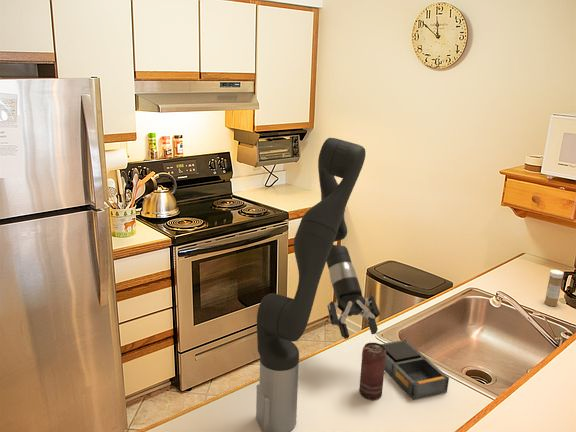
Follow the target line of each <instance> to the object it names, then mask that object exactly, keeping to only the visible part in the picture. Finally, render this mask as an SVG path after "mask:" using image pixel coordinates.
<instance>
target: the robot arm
mask: <svg viewBox="0 0 576 432" xmlns="http://www.w3.org/2000/svg"><path fill="white" fill-rule="evenodd" d="M365 159H366V148H365V147H364V146H362V145H360V144H357V143H354V142H351V141H346V140H343V139H341V138H340V139H339V138H336V137H328V138H326V139H325V140H324V142H323V143H322V146H321V148H320V151H319V154H318V161H317V168H318V169H317V170H318V180H319V187H320V188H319V189H320V198H321V200H320V201H319V202H317V203H316V204H314V205H313V206H312V207H311V208H309V209H308V210H307V211H306V212H305V213H304V214H303V216H302V217H301V219H300V223H299V225H298V228H297V229H296V230H297V231H296V233H295V236H294V239H293V250H294V257H295V262H296V264H297V265H296V266H297V271H298V283H297V288H296V292H295V295H294V297H293V298H291V297H289V296H286V295H282V294H280V293H279V294H278V293H275V292H273V293H268V294H266V295H265V296H264V297H263V298H262V299H261V301H260V303H259V305H258V309H257V313H256V341H257V343H256V344H257V352H258V354H259V382H258V383H259V384H257V385H256V402H255V403H256V405H255V406H256V408H255V410H256V412H255V413H256V414H255V418H256V421H257V422H258V425H259V427H260V429H261V431H262V432H291V431H293V430H294V429H295V427H296V424H297V415H298V388H299V368H300V367H299V366H300V364H299V363H300V350H299V348H298V347H297V345H296V344H295V343H294V342H297V341H298V340H299V339H301V337H303V335H304V333H305V330H306V328H307V326H308V324H309V320H310V317H311V313H312V310H313V305H314V302H315V298H316V295H317V291H318V287H319V283H320V280H321V278H322V275H323V272H324V269H325V267H326V265H327V268H328V273H329V279H330V284H331V286H332V288H333V293H334V296H335V299H336V302H335V301H333V300H332V301H330V302H329V303H328V304H327V309H328V310H327V311H328V316H329V320H330V324H331V325H332V326H334V325H336V326H338V328H339V333H340V336H341V337H342V338H343V339H344V340H347V339H349V338H350V334H349V330H348V326H347V323H346V320H347V317H352V316H359V315H360V316H361V317H363V318H364V319H365V320H367V323H368V327H369V331H370V333H371V335H375V334H377V333H378V325H377V322H376V319H377V318H378V317H379V316H380V315H381V313H380V310H379V308H378V305H377V302H376V300H375V297H374V296H373V295H370V296H369V297H364V296H363V294H362V288H361V285H360V283H359V279H358V275H357V272H356V270H355V267H354V266H353V265H354V264H353V261H352V260H351V256H350V252H349V250H348V248H347V247H346V246H345V245H341V244H338V245H337V244H334V243H335V242H340V241H342V240H344V239H346V237H347V235H348V227H347V224H346V221H345V212H346V208H347V207H346V206H347V205H348V202H349V199H350V197H351V194H352V192H353V190H354V188H355V185H356V183H357V181H358V178H359V176H360V173H361V171H362V169H363V166H364V164H365V163H364V162H365ZM335 177H336V178H341V181H340V182H339V183H338V181H337V179H336V178H335ZM365 304H366V305H367V306H368V307H367V306H366V305H365ZM337 309H339V310H340V311H341V312H340V315H339V318H338V313H337Z"/></svg>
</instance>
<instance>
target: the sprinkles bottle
mask: <svg viewBox="0 0 576 432" xmlns="http://www.w3.org/2000/svg"><path fill="white" fill-rule="evenodd" d="M563 278H564V272H563V271H562V270H559V269H550V271H549V277H548V283H547V284H548V285H547V288H546V292H545V299H544V304H545V305H547V306H549V307H557V306H558V302H559V298H560V297H559V296H560V292H561V287H562V283H563V282H562V280H563Z"/></svg>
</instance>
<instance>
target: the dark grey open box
mask: <svg viewBox="0 0 576 432" xmlns="http://www.w3.org/2000/svg"><path fill="white" fill-rule="evenodd" d="M380 344H381V345H383V346H384V347H385V350H386V359H385V369H384V373H386V374H387V375H388V377H390V378H391V379H392V380H393V381H394V382H395V383H396V384H397V386H399V388H401V389H402V391H404V393H405V394H406V395H407V396H408V397H409V398H410V399H411V400H412V401H414V400H420V399H423V398H429V397H432V396H436V395H440V394H441V395H442V394H445V393H448V387H449V381H450V377H449V376H448V375H447V374H446V373H444V372H443V371H442V370H441V369H439V368H438V367H437V366H436V365H435V364H434V363H433V362H431V360H430V359H428V358H427V357H426V356H425V355H424V354H422V353H421V351H419V350H418V349H417V348H416V347H415V346H413V345H412V344H411V343H410V342H409V341H408V340H407V339H403V340H397V341H391V342H385V343H380Z"/></svg>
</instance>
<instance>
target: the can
mask: <svg viewBox="0 0 576 432" xmlns="http://www.w3.org/2000/svg"><path fill="white" fill-rule="evenodd" d="M381 344H382V343H378V342H368V343H366V344H364V345H363V347H362V351H361V365H360V377H359V389H358V391H359V395H361V397H362V398H364V399H366V400H370V401H374V400H378V399H380V398H381V396H382V395H383V388H384V377H385V371H384V369H385V359H386V350H385V347H384V346H383V345H381Z"/></svg>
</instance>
